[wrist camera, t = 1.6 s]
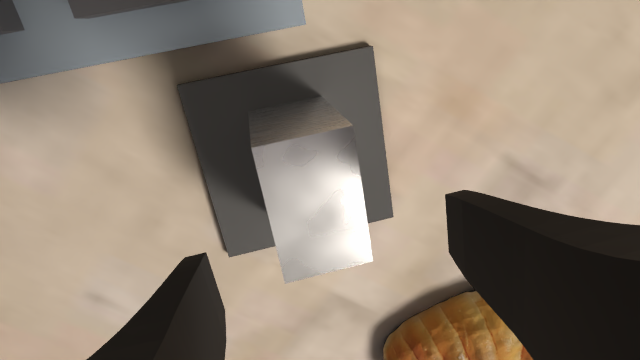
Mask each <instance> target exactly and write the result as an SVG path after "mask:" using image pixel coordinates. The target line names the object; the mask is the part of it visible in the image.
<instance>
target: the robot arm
mask: <svg viewBox="0 0 640 360" xmlns="http://www.w3.org/2000/svg"><path fill="white" fill-rule="evenodd" d="M445 199H446V214H447V230H448V245H449V253H450V255H451V256H452V258H453V260H454V261H455V263H456V265H457V266H458V268H459V269H460V271H461V272H462V274H463V275H464V277H465V278H466V279H467V281H468V282H469V283H470V284H471V285H472V286H473V288H474V289H475V290H476V291H477V292H478V293H479V295H480V296H481V297H482V298H483V299H484V300H485V301H486V303H487V304H488V305H489V306H490V307H491V308H492V309H493V311H494V312H495V313H496V314H497V315H498V316H499V317H500V319H501V320H502V321H503V322H504V323H505V324H506V325H507V327H508V328H509V329H510V330H511V331H512V332H513V333H514V335H515V336H516V337H517V338H518V340H519V341H520V342H521V343H522V345H523V346H524V347H525V349H526V350H527V352H528V353H529V354H530V356H531V357H532V359H533V360H640V225H629V224H620V223H611V222H604V221H598V220H591V219H585V218H579V217H574V216H568V215H564V214H559V213H555V212H550V211H546V210H542V209H538V208H534V207H530V206H526V205H522V204H519V203H515V202H511V201H508V200H504V199H501V198H497V197H494V196H490V195H486V194H482V193H478V192H474V191H469V190H462V191H458V192H454V193H449V194H445ZM225 349H226V322H225V309H224V306H223V303H222V299H221V296H220V293H219V290H218V287H217V284H216V281H215V278H214V275H213V272H212V269H211V266H210V263H209V260H208V257H207V254H206V253H202V254H197V255H193V256H189V257H185V258H184V259H183V260H182V261H181V262H180V263H179V264H178V265H177V267H176V268H175V269H174V270H173V271H172V273H171V274H170V275H169V276H168V278H167V279H166V280H165V281H164V282H163V284H162V285H161V286H160V287H159V288H158V289H157V291H156V292H155V293H154V294H153V295H152V297H151V298H150V299H149V300H148V301H147V302H146V303H145V304H144V305H143V306H142V308H141V309H140V310H139V311H138V312H137V313H136V314H135V315H134V316H133V317H132V318H131V319H130V320H129V321H128V323H127V324H126V325H125V326H124V327H123V328H122V329H121V330H120V331H119V332H117V333H116V334H115V335H114V336H113V337H112V338H111V339H110V340H109V341H108V342H107V343H105V344H104V345H103V346H102V347H101V348H100V349H99V350H98V351H96V352H95V353H94V354H93V355H92V356H91V357H89V358H88V359H87V360H225Z"/></svg>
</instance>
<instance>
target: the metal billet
mask: <svg viewBox="0 0 640 360" xmlns="http://www.w3.org/2000/svg"><path fill="white" fill-rule="evenodd" d="M248 116H249V128H250V140H251V149H252V153H253V157H254V161H255V165H256V169H257V173H258V177H259V181H260V185H261V189H262V193H263V197H264V201H265V205H266V209H267V213H268V217H269V221H270V225H271V229H272V233H273V237H274V241H275V245H276V249H277V253H278V257H279V261H280V265H281V269H282V273H283V277H284V281H285V284H286V283H290V282H294V281H298V280H302V279H305V278H309V277H313V276H317V275H321V274H325V273H329V272H333V271H337V270H341V269H345V268H349V267H353V266H356V265H360V264H364V263H368V262H372V261H373V256H372V249H371V243H370V236H369V229H368V222H367V216H366V209H365V202H364V195H363V189H362V182H361V175H360V168H359V161H358V155H357V148H356V141H355V134H354V128H353V125H352V124H351V123H350V122H349V121H348V120H347V119H346V118H345V117H344V116H342V115H341V114H340V113H339V112H338V111H337V110H336V109H335V108H334V107H333V106H332V105H331V104H330V103H329V102H328V101H326V100H325V99H324V98H323V97H322V96H318V97H314V98H309V99H304V100H299V101H295V102H290V103H285V104H281V105H276V106H271V107H266V108H262V109H257V110H252V111H248Z"/></svg>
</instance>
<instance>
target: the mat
mask: <svg viewBox="0 0 640 360" xmlns="http://www.w3.org/2000/svg"><path fill="white" fill-rule="evenodd" d="M177 88H178V91H179V94H180V98H181V101H182V104H183V108H184V111H185V114H186V117H187V121H188V124H189V127H190V131H191V134H192V137H193V140H194V144H195V147H196V150H197V154H198V157H199V160H200V163H201V167H202V170H203V173H204V177H205V180H206V183H207V186H208V190H209V193H210V196H211V200H212V203H213V206H214V210H215V213H216V216H217V219H218V223H219V226H220V229H221V233H222V236H223V239H224V242H225V246H226V249H227V252H228V256H229V257H233V256H237V255H241V254H245V253H249V252H253V251H257V250H261V249H265V248H269V247H273V246H276V245H275V241H274V237H273V233H272V229H271V225H270V221H269V217H268V213H267V209H266V205H265V201H264V197H263V193H262V189H261V185H260V181H259V177H258V173H257V169H256V165H255V161H254V157H253V153H252V149H251V140H250V128H249V116H248V111H252V110H257V109H262V108H266V107H271V106H276V105H281V104H285V103H290V102H295V101H299V100H304V99H309V98H314V97H318V96H322V97H323V98H324V99H325V100H326V101H328V102H329V103H330V104H331V105H332V106H333V107H334V108H335V109H336V110H337V111H338V112H339V113H340V114H341V115H342V116H344V117H345V118H346V119H347V120H348V121H349V122H350V123H351V124H352V125H353V128H354V134H355V141H356V148H357V155H358V161H359V168H360V175H361V182H362V189H363V195H364V202H365V209H366V216H367V222H368V223H371V222H375V221H379V220H384V219H388V218H392V217H393V210H392V201H391V193H390V185H389V176H388V168H387V160H386V151H385V143H384V135H383V126H382V118H381V110H380V101H379V93H378V85H377V76H376V68H375V60H374V51H373V46H366V47H361V48H356V49H351V50H347V51H342V52H337V53H332V54H327V55H322V56H317V57H312V58H307V59H302V60H297V61H292V62H287V63H282V64H277V65H272V66H267V67H262V68H257V69H252V70H247V71H242V72H237V73H232V74H227V75H222V76H218V77H213V78H208V79H203V80H198V81H193V82H188V83H183V84H178V85H177Z"/></svg>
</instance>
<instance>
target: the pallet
mask: <svg viewBox="0 0 640 360" xmlns="http://www.w3.org/2000/svg"><path fill="white" fill-rule="evenodd" d="M300 25H306V21H305V16H304V10H303V4H302V0H0V83H5V82H11V81H16V80H21V79H26V78H31V77H37V76H42V75H47V74H52V73H57V72H62V71H68V70H73V69H78V68H83V67H88V66H93V65H99V64H104V63H109V62H114V61H119V60H124V59H130V58H135V57H140V56H145V55H150V54H156V53H161V52H166V51H171V50H176V49H181V48H187V47H192V46H197V45H202V44H207V43H212V42H218V41H223V40H228V39H233V38H238V37H243V36H249V35H254V34H259V33H264V32H269V31H275V30H280V29H285V28H290V27H295V26H300Z"/></svg>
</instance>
